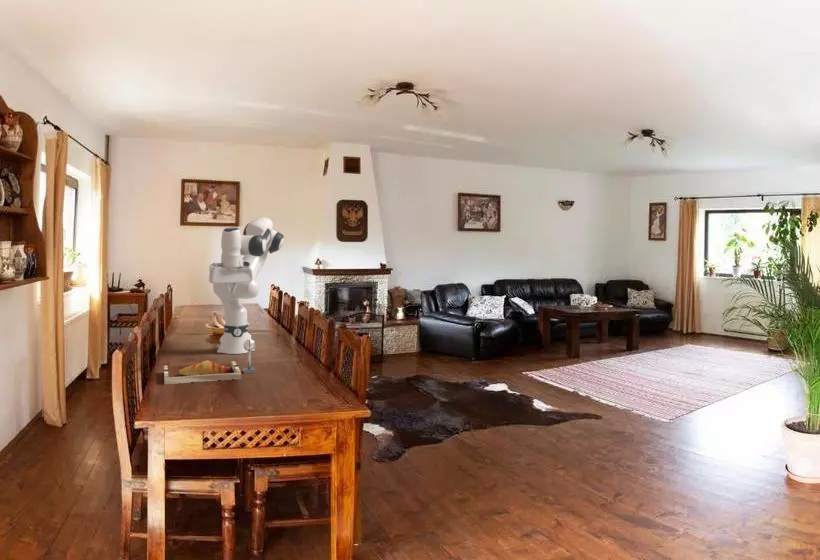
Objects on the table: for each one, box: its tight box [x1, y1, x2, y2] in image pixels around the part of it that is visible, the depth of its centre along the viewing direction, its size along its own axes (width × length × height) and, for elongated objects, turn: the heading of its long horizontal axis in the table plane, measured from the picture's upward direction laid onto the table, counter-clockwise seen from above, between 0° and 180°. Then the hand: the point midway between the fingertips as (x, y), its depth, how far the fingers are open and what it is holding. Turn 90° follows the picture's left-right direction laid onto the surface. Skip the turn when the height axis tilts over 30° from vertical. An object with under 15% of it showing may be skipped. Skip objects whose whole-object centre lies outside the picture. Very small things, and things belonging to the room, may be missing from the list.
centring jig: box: [163, 361, 242, 385], centre depth 249 cm, size 22×30×4 cm
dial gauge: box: [242, 339, 257, 374], centre depth 258 cm, size 5×5×14 cm
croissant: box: [178, 359, 231, 376], centre depth 251 cm, size 21×10×8 cm
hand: (231, 292), depth 268 cm, fingers closed
